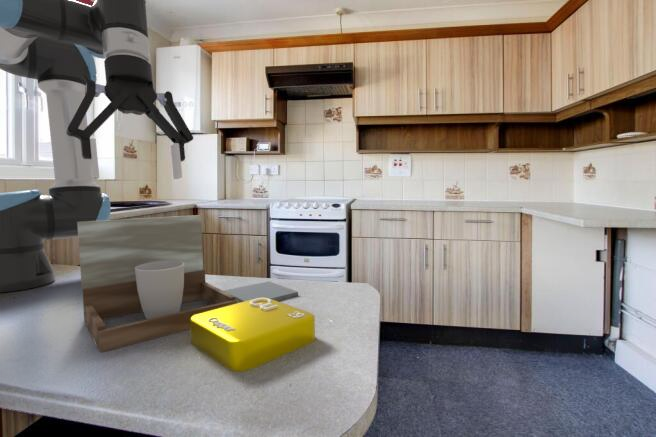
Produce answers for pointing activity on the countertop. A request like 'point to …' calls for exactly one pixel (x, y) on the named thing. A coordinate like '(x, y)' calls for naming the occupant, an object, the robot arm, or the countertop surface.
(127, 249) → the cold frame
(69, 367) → the countertop surface
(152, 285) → the cup
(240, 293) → the slate mat
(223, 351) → the element tile
